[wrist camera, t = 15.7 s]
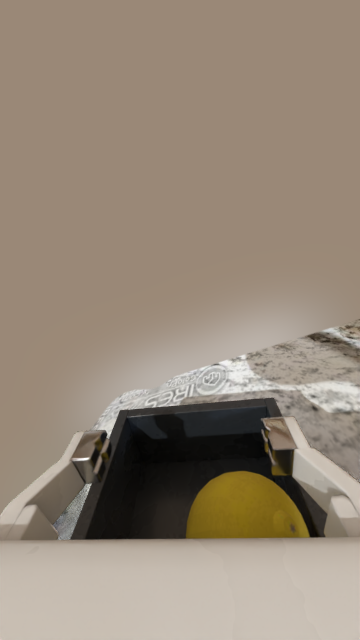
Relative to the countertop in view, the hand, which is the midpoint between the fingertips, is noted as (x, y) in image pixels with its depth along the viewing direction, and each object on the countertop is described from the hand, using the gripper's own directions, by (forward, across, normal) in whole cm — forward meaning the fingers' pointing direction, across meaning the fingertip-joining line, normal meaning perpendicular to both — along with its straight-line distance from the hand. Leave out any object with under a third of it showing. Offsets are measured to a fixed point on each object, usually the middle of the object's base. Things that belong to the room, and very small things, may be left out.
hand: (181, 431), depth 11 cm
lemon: (-1, 0, +9) cm, 9 cm away
